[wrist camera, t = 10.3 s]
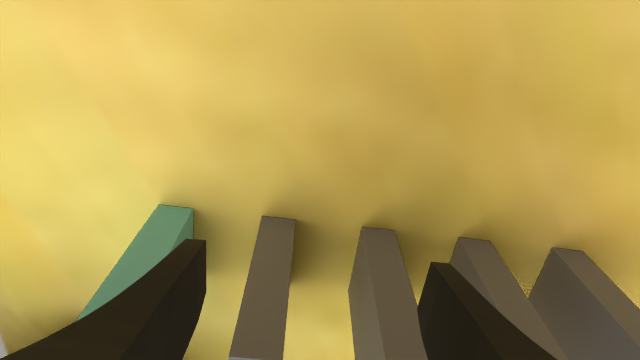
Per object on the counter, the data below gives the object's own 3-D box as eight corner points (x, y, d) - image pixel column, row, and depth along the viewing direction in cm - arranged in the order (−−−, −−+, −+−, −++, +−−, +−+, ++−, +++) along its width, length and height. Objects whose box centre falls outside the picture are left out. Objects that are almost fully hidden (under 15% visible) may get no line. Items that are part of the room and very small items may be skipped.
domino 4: (551, 310, 27) (665, 471, 18) (523, 308, 27) (624, 468, 18) (582, 250, 25) (728, 400, 16) (552, 247, 25) (682, 395, 16)
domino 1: (287, 284, 26) (271, 441, 17) (256, 281, 26) (225, 438, 17) (295, 219, 24) (282, 361, 15) (262, 215, 24) (229, 356, 15)
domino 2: (378, 293, 27) (409, 452, 18) (348, 290, 27) (364, 449, 18) (394, 230, 24) (438, 374, 16) (361, 226, 24) (387, 370, 15)
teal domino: (193, 275, 26) (127, 431, 17) (161, 272, 26) (78, 427, 17) (193, 208, 24) (117, 346, 15) (158, 204, 24) (61, 341, 15)
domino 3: (466, 302, 27) (540, 462, 18) (437, 299, 27) (496, 458, 18) (489, 240, 25) (587, 387, 16) (458, 237, 25) (538, 383, 16)
